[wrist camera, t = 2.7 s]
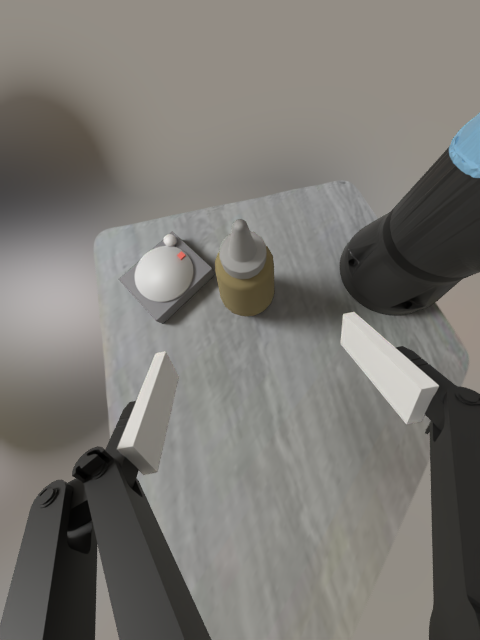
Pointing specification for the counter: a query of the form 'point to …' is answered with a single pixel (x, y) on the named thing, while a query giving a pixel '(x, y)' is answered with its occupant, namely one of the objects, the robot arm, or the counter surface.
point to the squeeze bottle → (245, 271)
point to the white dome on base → (166, 277)
